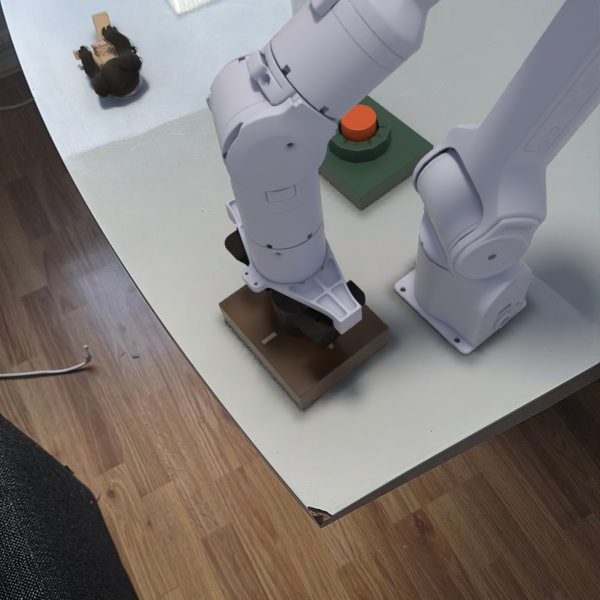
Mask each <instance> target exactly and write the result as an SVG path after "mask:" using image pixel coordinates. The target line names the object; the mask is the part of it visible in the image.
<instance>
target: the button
mask: <svg viewBox="0 0 600 600" xmlns="http://www.w3.org/2000/svg"><path fill="white" fill-rule="evenodd" d="M341 131H342V134H343V136H344V137H345V138H346V139H348V140H350V141H354V142H361V141H366V140H368V139H370V138H371V137H372V136H373V135H374V134H375V132H376V114H375V112H374V110H373V109H372V108H370V107H368V106H365V105H356V106H355V107H353V108H352V109H351V110H350V111H349V112H348V113H347V114H345V115H344V116H343V117H342V118H341Z"/></svg>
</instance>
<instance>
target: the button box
mask: <svg viewBox="0 0 600 600" xmlns="http://www.w3.org/2000/svg"><path fill="white" fill-rule="evenodd" d="M357 105H365V106H368V107H370V108H372V109H373V110H374V112H375V114H376V132H375V134H374V135H373V136H372V137H371V138H370V139H368V140H366V141H361V142H354V141H350V140H348V139H346V138H345V137H344V136H343V134H342V131H341V119H340V120H339V121H338V122H337V126H338V128H337V129H336V130H335V131H336V134H335V135H334V136H333V137H332V138H331V139H330V141H329V142H328V145H327V151H326V155H325V158H324V160H323V162H322V164H321V166H320V167H319V168H318V173H319V176H321V177H323V179H325V180H326V181H327V182H328V183H329V184H330V185H331V186H332V187H334V188H335V189H336V190H337V191H338V192H339V193H340V194H342V195H343V196H344V197H345V198H346V199H347V200H349V202H350V203H352V205H354V206H355V207H356V208H357V209H359V210H360V211H363V210H364V209H365V208H367V207H368V206H369V205H371V204H372V203H374V202H375V201H377V200H378V199H379V198H381V197H383V196H384V195H385V194H387V193H388V192H389V191H390V190H392V189H393V188H395V187H396V186H397V185H399V184H400V183H402V182H403V181H405V180H406V179H408V178H409V177H410V176H412V175H413V172H414V169H415V167H416V166H417V164H418V163H419V162H420V160H421V159H422V158H423V157H424V156H425V155H426V154H427V153H429V152H430V151H431V150H433V149H434V148H435V147H434V144H432V143H431V142H430V141H429V140H428V139H426V138H425V137H423V136H422V135H421V134H419V132H417V131H415V130H414V129H413V128H411V127H410V126H409V125H408V124H406V123H405V122H404V121H402V120H401V119H400V118H398V117H397V116H396V115H395V114H393V113H392V112H391V111H389V110H388V109H387V108H385V107H384V106H383V105H381V104H380V103H379V102H377V101H376V100H375V99H374V98H372V97H371V96H370V95H369V94H368V95H367V96H366V97H365V98H364V99H362V100H361V101H360V102H359V103H358V104H357Z"/></svg>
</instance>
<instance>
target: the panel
mask: <svg viewBox="0 0 600 600" xmlns="http://www.w3.org/2000/svg"><path fill="white" fill-rule="evenodd" d="M218 306H219V309H220V312H221V314H222V317H223V319H224V321H225V322H226V324H228V325H229V326H230V328H231V329H232V330H233V331H234V332H235V333H236V335H237V336H238V337H239V338H240V339H241V340H242V342H243V343H244V344H245V345H246V346H247V347H248V349H249V350H250V351H251V352H252V354H253V355H254V356H255V357H256V358H257V359H258V360H259V361H260V362H261V364H262V365H263V366H264V368H266V370H267V371H268V372H269V373H270V374H271V375H272V376H273V378H274V379H275V380H276V381H277V382H278V383H279V385H280V386H281V387H282V389H284V391H285V392H286V393H287V394H288V395H289V397H290V398H291V399H292V400H293V401H294V403H296V404H297V405H298V407H299V408H300V409H301V410H305V409H306V408H307V407H309V406H310V405H311V404H313V403H314V402H315V401H316V400H318V399H319V398H320V397H321V396H323V394H325V393H326V392H327V391H329V390H330V389H331V388H333V387H334V386H335V385H336V384H338V383H339V382H340V381H341V380H343V379H344V378H345V377H347V376H348V375H349V374H350V373H352V372H353V371H354V370H355V369H356V368H358V367H359V366H360V365H362V364H363V363H364V362H366V361H367V360H368V359H369V358H371V357H372V356H373V355H374V354H376V353H377V352H378V351H380V349H382V348H383V347H384V346H386V345H387V344H388V343H389V336H390V327H389V325H388V324H386V322H385V321H384V320H383V319H381V318H380V317H379V315H377V314H376V313H375V312H374V310H372V308H370V307H369V306H368V305H367V304H366V303H365V304H364V305H363V306H362V320H360V321H359V322H358V323H356V324H355V325H354V326H353V327H351V328H350V329H349V330H347V331H346V332H345V333H343V334H340V336H339V338H337V339H336V340H335V341H333V342H332V343H331V344H330V345H328V346H327V347H326V348H324V349H323V350H321V349H320V348H319V347H318V346H317V345H316V344H315V343H314V342H313V340H312V339H311V338H309V337H308V336H293V335H290V334H288V333H286V332H285V331H284V330H282V328H281V327H280V326H279V324H278V321H277V317H276V314H275V310H274V306H273V302H272V298H271V290H270V291H268V292H267V291H266V290H265V289H264V290H262V291H261V292H254V291H252V290H251V288H250V287H249V286H248V285H247V284H246V283H245V284H244V285H243V286H241V287H240V288H238V289H237V290H235V291H234V292H233V293H231V294H230V295H228V296H227V297H226V298H224V299H223V300H221V301H220V302H219V303H218Z"/></svg>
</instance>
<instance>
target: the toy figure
mask: <svg viewBox="0 0 600 600" xmlns="http://www.w3.org/2000/svg"><path fill="white" fill-rule="evenodd" d="M91 19H92V22H93V25H94V26H93V27H94V29H95V32H96V37H97V41H98V42H95V43H92V44H91V45H90V47H91V49H92V50H91V49H90V47H88V46H87V45H85V44H83V45H80V47H79V49H77V50H75V49H73V50H72V53H73V56H74V57H75V60H77V61H81V66H82V69H83V70H84V73H85V75H86V76H87V77H89V78H90V79H91V80H92V81H91V84H92V86H93V90H94V93H95V94H96V95H98V98H100V99H104V98H108V97H110V96H112V97H115V98H118V99H122V100H125V99H128V98H130V97H131V96H132V95H134V94H135V93H136V92H138V90H140V88H141V86H142V82H143V81H142V76H141V74H140V70H141V69H142V65H143V58H142V57H141V56H139V55H138V54H137V52H138V50H139V49H138V47H136V46H135V45H134V44H133V42H131V39H130V38H129V37H128V36H126V35H125V34H124V33H122V32H120V31H119V30H118V28H117V27H116V26H115V25H112V24H111V20H110V18H109V14H108V12H107V11H102V12H101V11H100V12H98V13H94V14H92V15H91ZM92 51H93V52H92Z"/></svg>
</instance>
